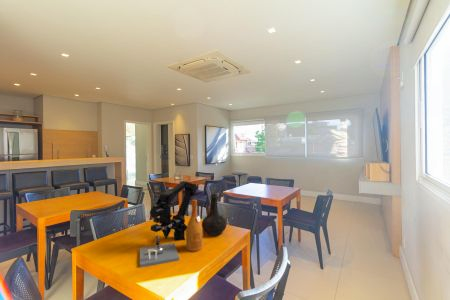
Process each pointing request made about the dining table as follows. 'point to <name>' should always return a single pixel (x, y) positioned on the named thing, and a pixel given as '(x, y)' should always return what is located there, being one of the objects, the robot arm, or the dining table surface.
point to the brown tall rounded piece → (194, 230)
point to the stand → (158, 255)
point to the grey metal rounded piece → (158, 248)
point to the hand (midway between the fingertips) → (166, 238)
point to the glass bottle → (214, 219)
